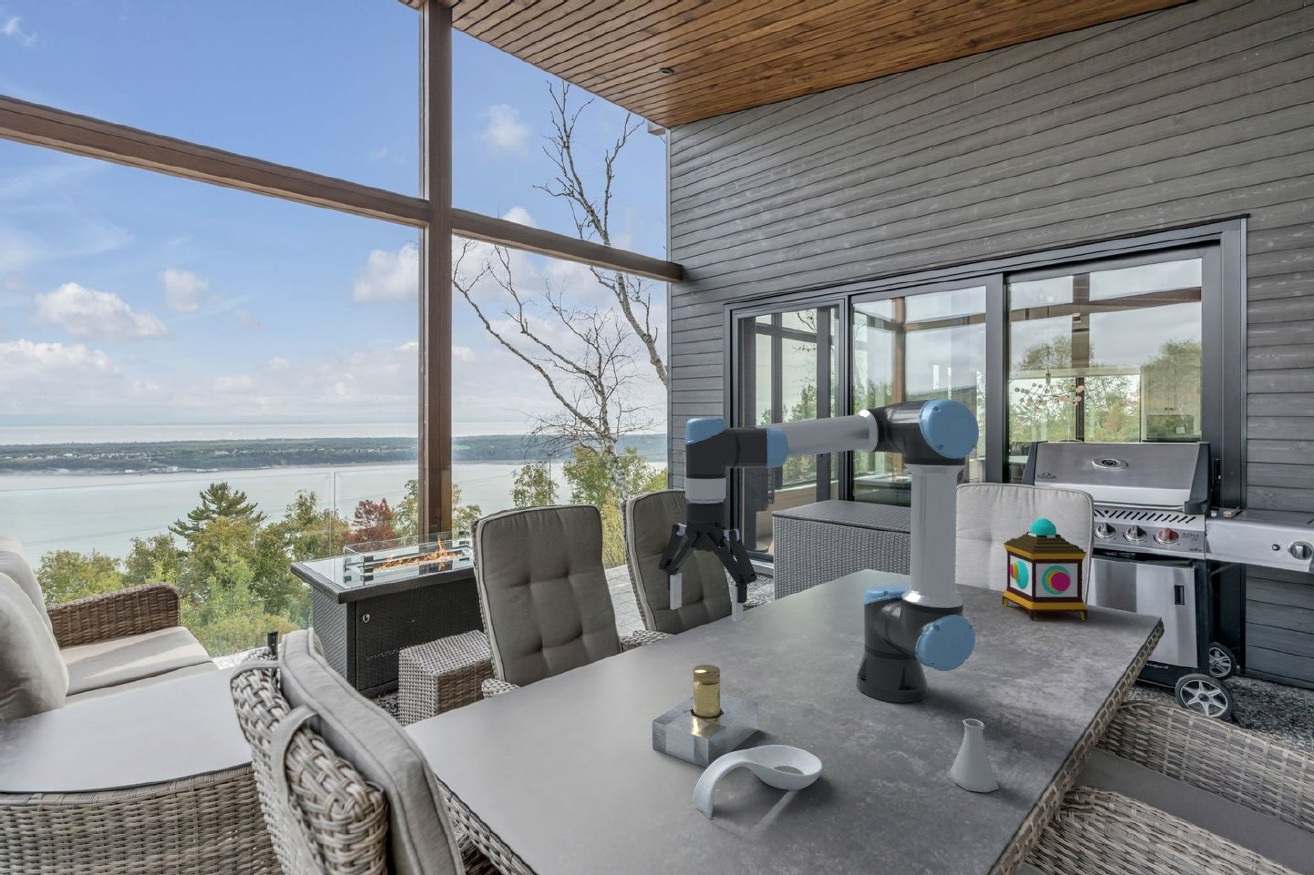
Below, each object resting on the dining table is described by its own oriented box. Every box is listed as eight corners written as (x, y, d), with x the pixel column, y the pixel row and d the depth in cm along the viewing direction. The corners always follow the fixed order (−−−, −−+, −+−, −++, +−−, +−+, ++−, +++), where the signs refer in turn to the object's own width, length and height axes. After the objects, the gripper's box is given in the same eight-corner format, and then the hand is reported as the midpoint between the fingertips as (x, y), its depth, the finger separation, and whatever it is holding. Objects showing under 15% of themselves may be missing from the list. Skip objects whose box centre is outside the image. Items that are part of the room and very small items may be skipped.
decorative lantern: (1095, 622, 198) (1096, 522, 197) (1029, 622, 198) (1029, 523, 197) (1056, 604, 218) (1056, 513, 217) (995, 604, 218) (995, 514, 217)
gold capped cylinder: (725, 737, 124) (725, 668, 124) (711, 747, 120) (710, 676, 120) (702, 729, 127) (702, 662, 127) (688, 739, 123) (688, 670, 123)
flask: (941, 771, 113) (941, 714, 113) (981, 769, 114) (981, 712, 113) (964, 795, 106) (964, 733, 106) (1007, 793, 106) (1007, 731, 106)
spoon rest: (787, 757, 119) (787, 718, 118) (837, 787, 109) (837, 744, 109) (679, 798, 106) (679, 754, 106) (724, 836, 96) (724, 787, 96)
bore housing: (758, 734, 127) (758, 703, 127) (708, 774, 113) (708, 739, 112) (705, 718, 134) (705, 688, 134) (652, 753, 120) (652, 720, 120)
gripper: (775, 503, 118) (775, 620, 119) (663, 494, 133) (663, 599, 133) (755, 507, 112) (755, 631, 112) (640, 498, 127) (640, 607, 127)
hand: (705, 614), depth 123 cm, fingers open, 13 cm apart
